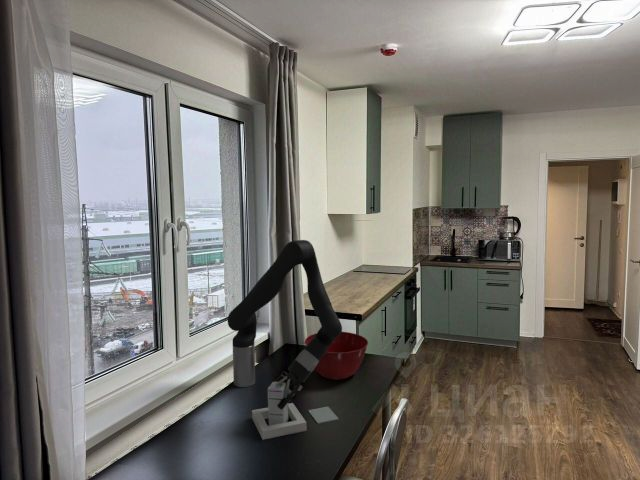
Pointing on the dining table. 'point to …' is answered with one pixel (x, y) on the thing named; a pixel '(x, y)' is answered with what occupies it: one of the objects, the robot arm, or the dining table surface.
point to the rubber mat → (323, 415)
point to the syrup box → (274, 397)
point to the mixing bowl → (341, 356)
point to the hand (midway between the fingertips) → (274, 403)
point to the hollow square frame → (279, 429)
